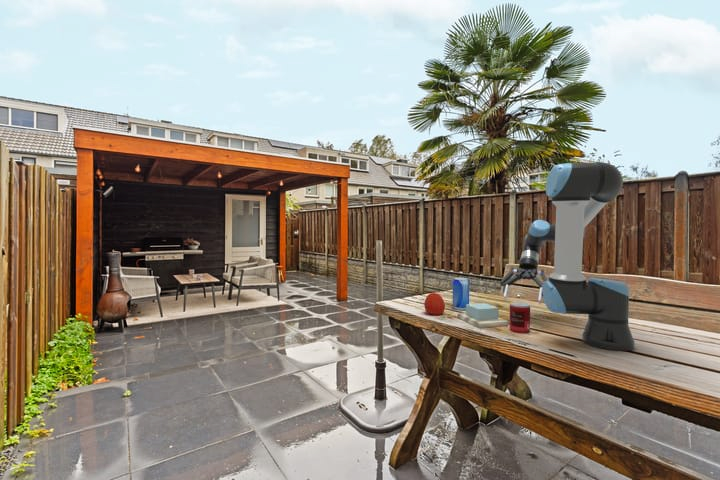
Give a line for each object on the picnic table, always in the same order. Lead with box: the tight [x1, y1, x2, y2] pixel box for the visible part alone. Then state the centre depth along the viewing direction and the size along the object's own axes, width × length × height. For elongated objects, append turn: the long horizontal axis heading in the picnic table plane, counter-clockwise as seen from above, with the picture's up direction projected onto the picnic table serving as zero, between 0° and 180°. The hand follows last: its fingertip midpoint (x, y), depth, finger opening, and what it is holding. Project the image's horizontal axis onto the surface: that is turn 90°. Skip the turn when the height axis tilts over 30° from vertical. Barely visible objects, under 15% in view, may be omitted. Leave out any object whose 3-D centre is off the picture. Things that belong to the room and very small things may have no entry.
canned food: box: [509, 301, 531, 334], centre depth 138 cm, size 8×8×11 cm
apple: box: [423, 292, 446, 316], centre depth 167 cm, size 10×10×10 cm
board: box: [457, 312, 509, 329], centre depth 152 cm, size 18×14×2 cm
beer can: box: [452, 277, 470, 311], centre depth 177 cm, size 8×8×16 cm
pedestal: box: [465, 303, 500, 321], centre depth 152 cm, size 10×10×5 cm
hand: (521, 300), depth 144 cm, fingers open, 13 cm apart
